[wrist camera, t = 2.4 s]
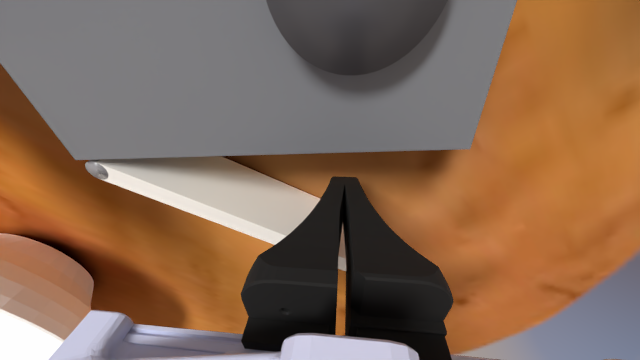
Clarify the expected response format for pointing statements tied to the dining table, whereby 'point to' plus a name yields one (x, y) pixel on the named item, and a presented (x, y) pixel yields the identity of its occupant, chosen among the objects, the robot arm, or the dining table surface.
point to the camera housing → (254, 73)
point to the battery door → (216, 193)
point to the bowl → (39, 298)
